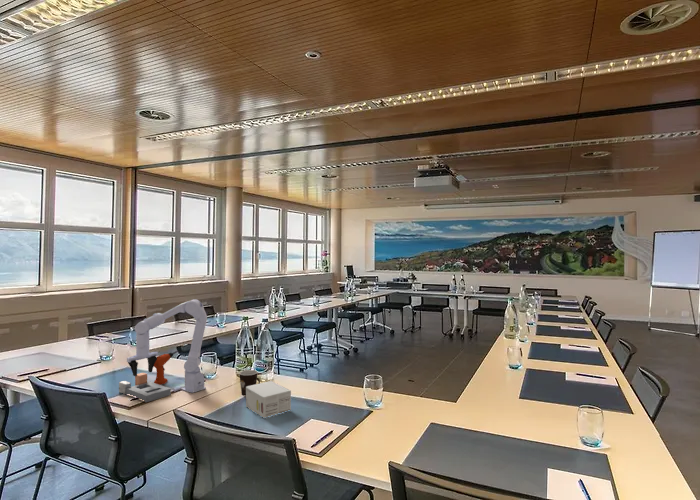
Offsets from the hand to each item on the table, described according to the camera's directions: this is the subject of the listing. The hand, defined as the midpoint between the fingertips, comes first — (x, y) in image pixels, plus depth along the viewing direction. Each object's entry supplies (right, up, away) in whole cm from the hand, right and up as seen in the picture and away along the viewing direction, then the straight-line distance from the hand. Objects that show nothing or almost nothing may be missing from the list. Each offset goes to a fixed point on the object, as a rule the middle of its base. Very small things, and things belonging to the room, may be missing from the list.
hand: (142, 373), depth 200 cm
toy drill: (+4, -9, +17) cm, 20 cm away
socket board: (+5, -9, -4) cm, 11 cm away
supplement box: (+65, -9, -22) cm, 70 cm away
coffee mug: (+53, -9, -3) cm, 54 cm away
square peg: (-3, -9, +5) cm, 11 cm away
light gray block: (-8, -9, -1) cm, 12 cm away
